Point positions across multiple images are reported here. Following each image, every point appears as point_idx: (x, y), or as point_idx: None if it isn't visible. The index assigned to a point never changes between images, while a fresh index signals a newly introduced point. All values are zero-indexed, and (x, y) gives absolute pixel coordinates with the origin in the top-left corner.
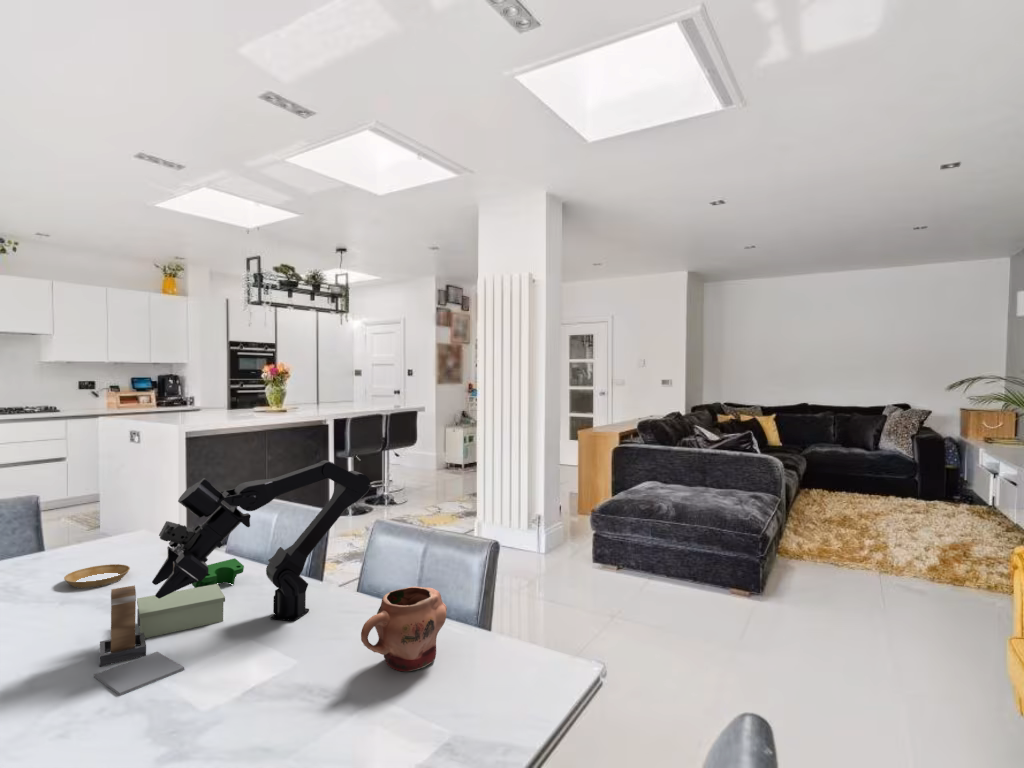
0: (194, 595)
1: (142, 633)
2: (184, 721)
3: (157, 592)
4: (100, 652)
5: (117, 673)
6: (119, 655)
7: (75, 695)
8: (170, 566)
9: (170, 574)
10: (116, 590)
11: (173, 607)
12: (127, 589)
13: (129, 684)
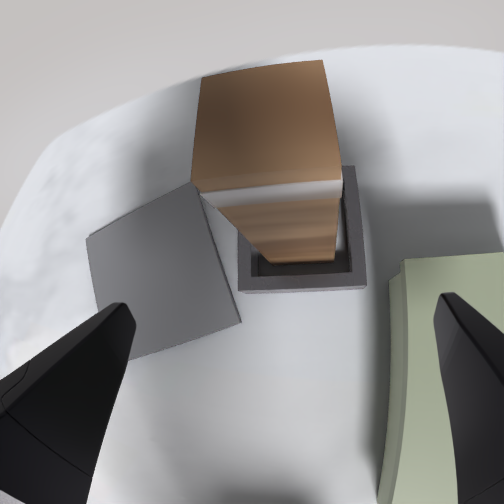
0: None
1: (358, 280)
2: (2, 320)
3: (100, 311)
4: None
5: (164, 228)
6: None
7: (138, 166)
8: (494, 454)
9: (459, 431)
10: (283, 81)
11: (406, 391)
12: (265, 130)
13: (102, 254)
